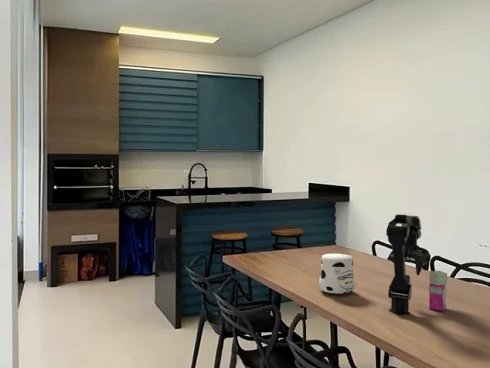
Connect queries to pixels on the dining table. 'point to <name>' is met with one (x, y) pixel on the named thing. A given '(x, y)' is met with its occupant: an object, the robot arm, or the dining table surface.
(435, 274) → the sage cube
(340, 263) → the milk container
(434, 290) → the supplement box
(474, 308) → the dining table surface
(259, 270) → the dining table surface
